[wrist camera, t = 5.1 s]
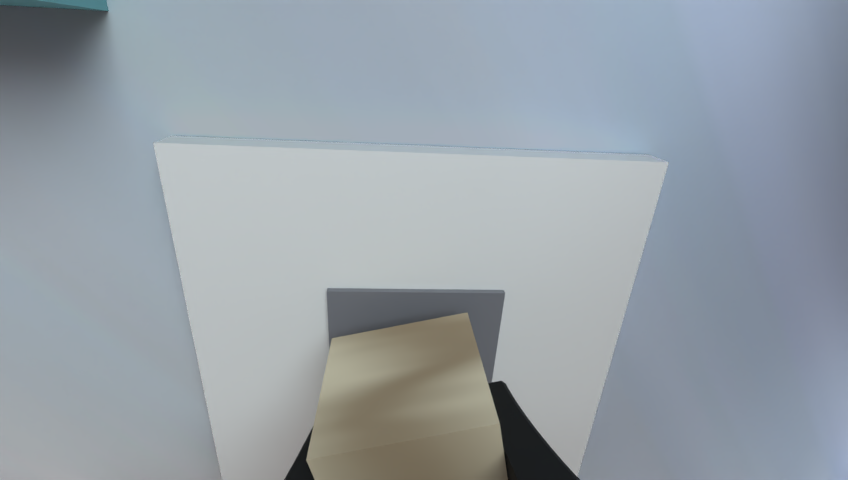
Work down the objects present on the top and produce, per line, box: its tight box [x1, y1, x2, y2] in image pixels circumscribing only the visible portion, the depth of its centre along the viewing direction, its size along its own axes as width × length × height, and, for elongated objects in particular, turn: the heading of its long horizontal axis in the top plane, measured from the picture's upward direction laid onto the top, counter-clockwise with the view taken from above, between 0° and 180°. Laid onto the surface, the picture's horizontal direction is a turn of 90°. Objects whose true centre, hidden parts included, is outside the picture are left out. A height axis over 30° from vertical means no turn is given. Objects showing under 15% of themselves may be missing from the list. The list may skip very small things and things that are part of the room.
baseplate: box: [153, 136, 669, 480], centre depth 15 cm, size 14×14×1 cm
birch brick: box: [306, 312, 508, 480], centre depth 11 cm, size 4×4×4 cm
